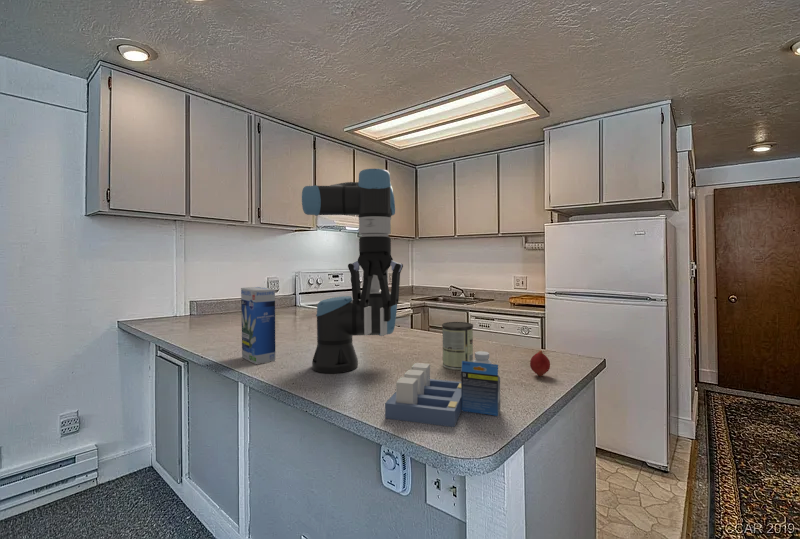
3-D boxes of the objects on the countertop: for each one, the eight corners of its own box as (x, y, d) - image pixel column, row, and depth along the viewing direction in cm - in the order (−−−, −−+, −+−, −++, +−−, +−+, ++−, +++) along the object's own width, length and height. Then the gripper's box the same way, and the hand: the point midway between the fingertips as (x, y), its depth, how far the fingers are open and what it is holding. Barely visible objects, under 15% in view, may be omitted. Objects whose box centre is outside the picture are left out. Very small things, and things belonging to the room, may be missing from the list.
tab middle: (404, 398, 97) (404, 374, 97) (409, 392, 101) (408, 369, 101) (420, 399, 96) (420, 375, 96) (424, 394, 100) (424, 370, 100)
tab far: (411, 389, 103) (411, 366, 103) (415, 384, 107) (415, 362, 107) (426, 390, 102) (426, 368, 102) (430, 385, 106) (429, 363, 106)
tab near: (396, 407, 91) (396, 382, 91) (401, 401, 95) (401, 377, 95) (412, 409, 90) (412, 383, 90) (417, 403, 94) (417, 378, 93)
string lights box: (241, 357, 144) (239, 287, 143) (261, 354, 150) (260, 286, 149) (256, 365, 135) (254, 290, 134) (277, 360, 140) (275, 288, 139)
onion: (526, 376, 121) (526, 350, 120) (534, 372, 125) (535, 347, 124) (545, 380, 117) (545, 353, 116) (553, 375, 121) (553, 350, 120)
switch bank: (385, 418, 90) (385, 402, 90) (409, 389, 109) (409, 376, 109) (454, 427, 85) (454, 410, 85) (467, 395, 104) (467, 381, 104)
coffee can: (442, 361, 138) (442, 321, 137) (471, 361, 137) (471, 321, 136) (442, 369, 128) (442, 326, 127) (474, 370, 127) (474, 327, 126)
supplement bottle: (468, 385, 113) (468, 351, 112) (484, 382, 115) (484, 349, 114) (479, 391, 108) (479, 356, 107) (495, 388, 110) (495, 354, 109)
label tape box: (500, 410, 94) (501, 360, 94) (498, 417, 90) (498, 364, 90) (464, 405, 98) (464, 356, 97) (460, 411, 94) (460, 360, 93)
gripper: (336, 236, 92) (337, 335, 93) (403, 234, 87) (404, 339, 88) (349, 237, 99) (351, 329, 100) (412, 236, 94) (413, 333, 95)
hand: (375, 334), depth 94 cm, fingers open, 3 cm apart
